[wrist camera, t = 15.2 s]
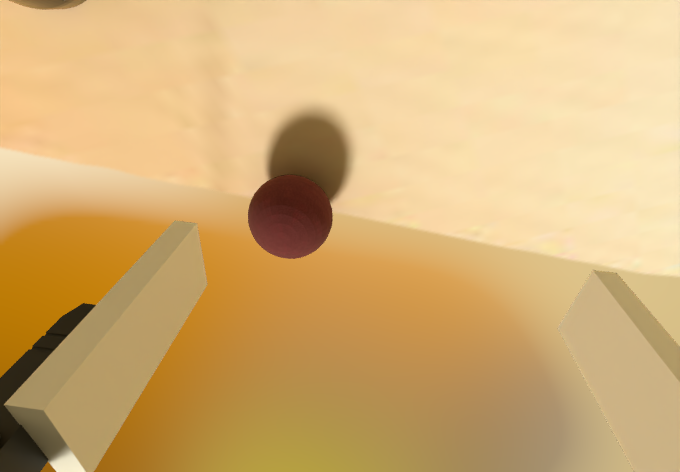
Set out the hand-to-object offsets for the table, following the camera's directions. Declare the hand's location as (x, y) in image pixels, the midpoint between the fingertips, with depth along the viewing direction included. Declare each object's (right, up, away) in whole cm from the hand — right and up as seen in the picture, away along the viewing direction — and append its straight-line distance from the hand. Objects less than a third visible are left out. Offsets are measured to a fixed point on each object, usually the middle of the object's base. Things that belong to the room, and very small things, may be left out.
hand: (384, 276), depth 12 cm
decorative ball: (-7, +7, +35) cm, 36 cm away
